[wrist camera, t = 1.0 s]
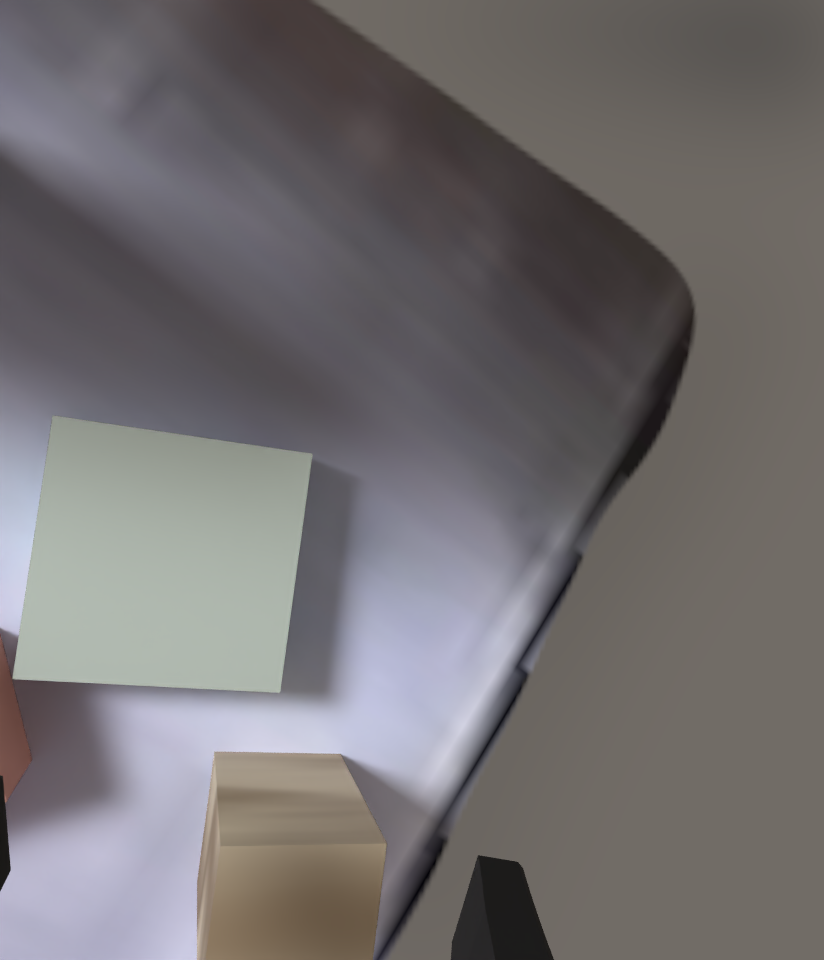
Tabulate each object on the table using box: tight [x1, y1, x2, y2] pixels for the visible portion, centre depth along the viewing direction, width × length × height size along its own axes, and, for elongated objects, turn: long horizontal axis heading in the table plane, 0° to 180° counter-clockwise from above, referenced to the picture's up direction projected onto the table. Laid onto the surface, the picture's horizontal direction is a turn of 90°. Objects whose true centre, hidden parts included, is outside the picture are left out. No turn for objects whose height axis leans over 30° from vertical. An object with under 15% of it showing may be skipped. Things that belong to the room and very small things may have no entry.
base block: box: [12, 416, 312, 693], centre depth 21 cm, size 7×7×2 cm
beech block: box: [197, 752, 387, 960], centre depth 20 cm, size 4×4×6 cm
